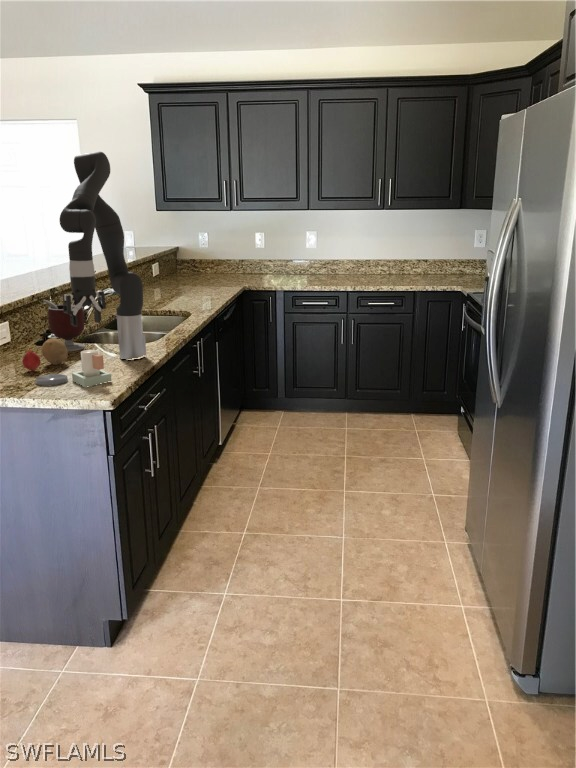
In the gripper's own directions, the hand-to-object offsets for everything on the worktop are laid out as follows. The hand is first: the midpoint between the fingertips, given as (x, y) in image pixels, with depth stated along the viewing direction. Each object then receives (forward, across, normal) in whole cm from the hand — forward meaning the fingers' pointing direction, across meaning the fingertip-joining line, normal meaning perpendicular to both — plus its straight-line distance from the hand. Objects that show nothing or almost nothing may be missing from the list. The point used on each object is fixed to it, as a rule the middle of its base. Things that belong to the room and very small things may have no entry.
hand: (86, 324), depth 194 cm
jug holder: (+20, 0, 0) cm, 20 cm away
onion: (+20, +5, -27) cm, 34 cm away
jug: (+20, 0, +2) cm, 20 cm away
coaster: (+20, +8, -10) cm, 24 cm away
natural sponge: (+20, -5, -29) cm, 36 cm away
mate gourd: (+20, -23, -49) cm, 57 cm away
